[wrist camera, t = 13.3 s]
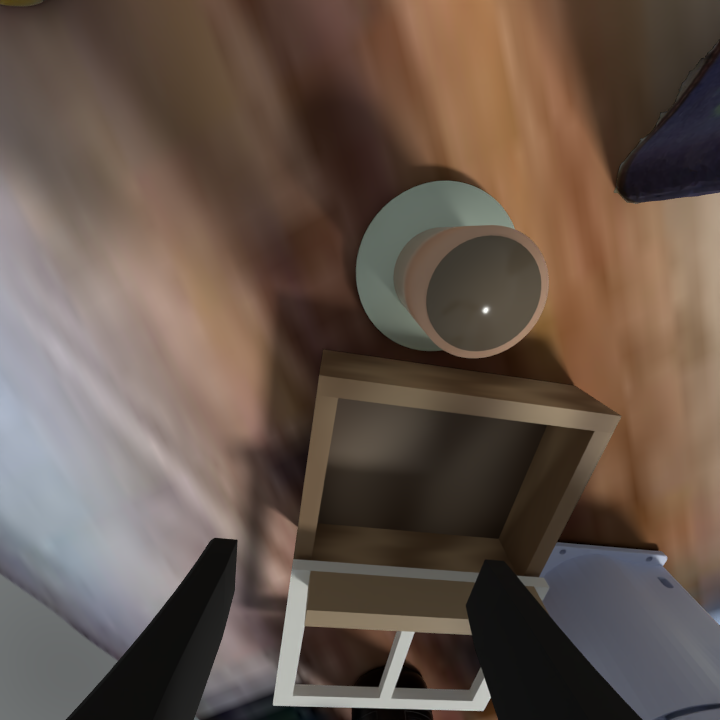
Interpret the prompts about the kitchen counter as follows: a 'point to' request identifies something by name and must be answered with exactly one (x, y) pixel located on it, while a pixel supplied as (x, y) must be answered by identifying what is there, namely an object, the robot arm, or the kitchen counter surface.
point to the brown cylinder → (472, 287)
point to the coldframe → (443, 465)
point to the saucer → (395, 230)
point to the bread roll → (20, 2)
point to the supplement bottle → (407, 679)
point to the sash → (379, 628)
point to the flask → (680, 143)
